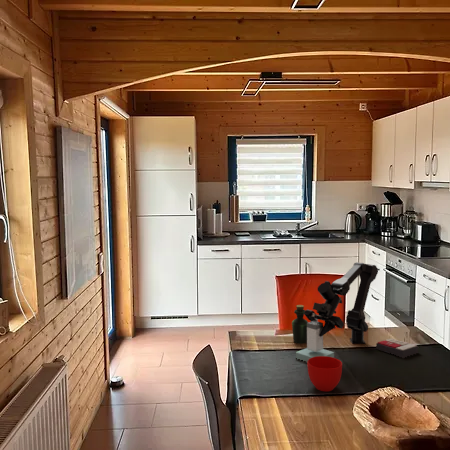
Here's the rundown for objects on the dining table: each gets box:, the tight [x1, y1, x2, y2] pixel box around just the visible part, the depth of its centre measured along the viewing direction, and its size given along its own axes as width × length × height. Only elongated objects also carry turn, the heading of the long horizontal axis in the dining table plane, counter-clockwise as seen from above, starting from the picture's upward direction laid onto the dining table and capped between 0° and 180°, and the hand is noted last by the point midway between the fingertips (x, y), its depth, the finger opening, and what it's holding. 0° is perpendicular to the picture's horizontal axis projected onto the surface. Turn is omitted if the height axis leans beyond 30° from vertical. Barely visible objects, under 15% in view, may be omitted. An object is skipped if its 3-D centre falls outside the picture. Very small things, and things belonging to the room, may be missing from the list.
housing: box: [306, 320, 324, 352], centre depth 209 cm, size 5×5×12 cm
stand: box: [295, 347, 335, 363], centre depth 209 cm, size 12×12×3 cm
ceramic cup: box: [306, 356, 343, 392], centre depth 181 cm, size 13×17×10 cm
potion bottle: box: [291, 304, 309, 345], centre depth 232 cm, size 8×8×18 cm
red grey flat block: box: [375, 337, 419, 359], centre depth 218 cm, size 11×4×15 cm
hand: (315, 334), depth 209 cm, fingers closed on housing, 5 cm apart
